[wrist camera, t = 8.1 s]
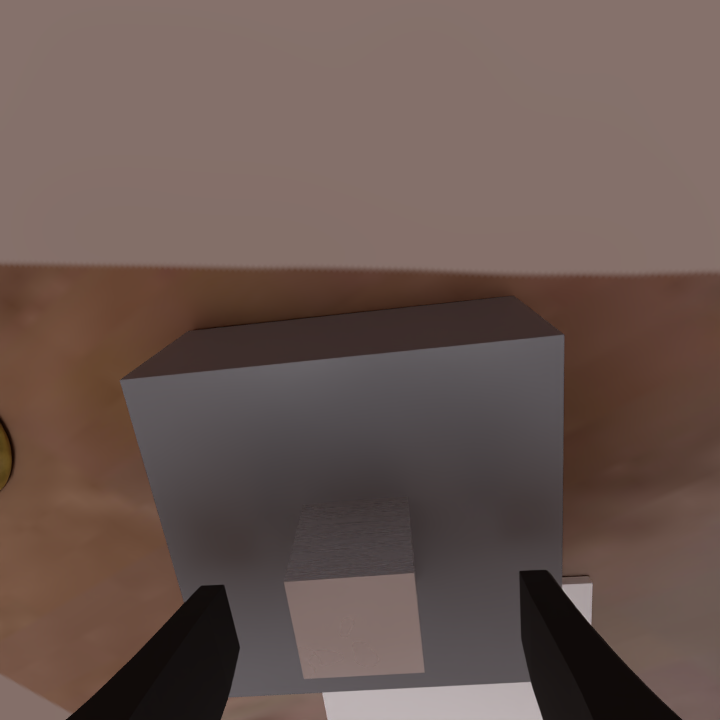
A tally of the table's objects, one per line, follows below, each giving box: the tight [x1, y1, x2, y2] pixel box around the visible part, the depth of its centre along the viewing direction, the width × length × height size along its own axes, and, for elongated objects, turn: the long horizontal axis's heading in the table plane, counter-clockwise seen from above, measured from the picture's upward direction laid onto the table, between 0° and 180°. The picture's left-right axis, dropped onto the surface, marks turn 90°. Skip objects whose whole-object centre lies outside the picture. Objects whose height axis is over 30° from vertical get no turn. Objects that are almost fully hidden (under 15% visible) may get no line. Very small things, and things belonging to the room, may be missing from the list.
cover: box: [120, 296, 564, 697], centre depth 16 cm, size 12×12×8 cm
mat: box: [323, 576, 592, 720], centre depth 23 cm, size 12×12×1 cm
